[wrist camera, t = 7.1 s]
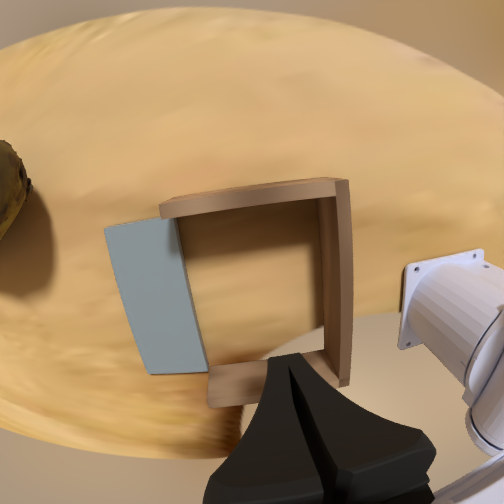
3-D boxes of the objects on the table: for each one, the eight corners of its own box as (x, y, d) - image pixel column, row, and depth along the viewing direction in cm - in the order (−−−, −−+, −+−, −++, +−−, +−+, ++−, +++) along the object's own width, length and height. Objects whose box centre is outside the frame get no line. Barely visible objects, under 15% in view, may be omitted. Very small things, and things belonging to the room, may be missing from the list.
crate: (325, 177, 19) (348, 179, 15) (333, 354, 23) (349, 385, 19) (173, 197, 18) (158, 204, 15) (211, 373, 22) (209, 408, 18)
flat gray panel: (172, 216, 18) (103, 228, 18) (207, 371, 21) (147, 373, 21) (175, 214, 18) (108, 226, 19) (208, 365, 22) (150, 368, 22)
